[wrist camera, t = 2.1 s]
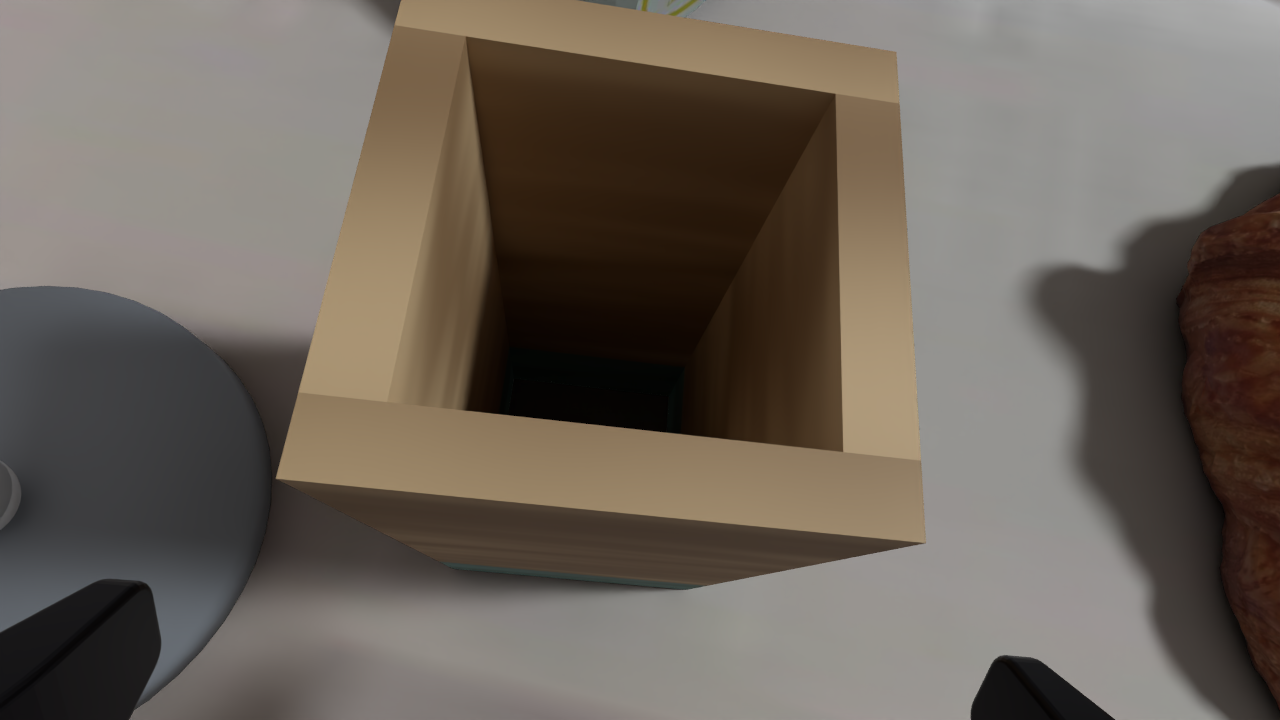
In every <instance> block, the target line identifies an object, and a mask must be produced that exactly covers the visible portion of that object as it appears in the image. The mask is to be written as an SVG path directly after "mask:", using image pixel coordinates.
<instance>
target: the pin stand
mask: <svg viewBox="0 0 1280 720" xmlns="http://www.w3.org/2000/svg"><path fill="white" fill-rule="evenodd" d="M271 481H272V472H271V462H270V452H269V446H268V442H267V438H266V434H265V430H264V426H263V423H262V420H261V418H260V415H259V413H258V411H257V408H256V406H255V404H254V401H253V399H252V398H251V396H250V394H249V393H248V391H247V390H246V388H245V386H244V385H243V383H242V382H241V380H240V378H239V377H238V376H237V375H236V374H235V373H234V372H233V370H232V369H231V368H230V367H229V366H228V365H227V363H226V362H225V361H224V360H223V359H222V358H221V357H219V356H218V355H217V354H216V353H215V352H214V351H212V350H211V349H210V348H209V347H208V346H207V345H205V344H204V343H203V342H202V341H200V340H199V339H198V338H197V337H195V336H194V335H193V334H192V333H190V332H189V331H188V330H187V329H185V328H184V327H183V326H181V325H180V324H178V323H176V322H175V321H173V320H172V319H170V318H168V317H167V316H165V315H164V314H162V313H160V312H158V311H156V310H154V309H152V308H150V307H147V306H145V305H143V304H141V303H138V302H136V301H133V300H130V299H127V298H123V297H120V296H117V295H113V294H110V293H106V292H100V291H94V290H88V289H83V288H75V287H56V286H38V287H20V288H10V289H4V290H0V632H1V631H3V630H5V629H7V628H9V627H11V626H13V625H14V624H16V623H18V622H20V621H22V620H24V619H26V618H28V617H29V616H31V615H33V614H35V613H37V612H39V611H41V610H43V609H44V608H46V607H48V606H50V605H52V604H54V603H56V602H58V601H59V600H61V599H63V598H65V597H67V596H69V595H71V594H73V593H74V592H76V591H78V590H80V589H82V588H84V587H86V586H88V585H89V584H91V583H94V582H96V581H98V580H102V579H109V578H110V579H121V580H133V581H142V582H144V583H147V584H148V585H149V587H150V588H151V590H152V593H153V597H154V603H155V608H156V613H157V618H158V624H159V629H160V634H161V652H160V656H159V659H158V662H157V665H156V667H155V669H154V671H153V673H152V675H151V677H150V679H149V681H148V683H147V685H146V687H145V689H144V691H143V693H142V695H141V697H140V699H139V701H138V703H137V705H136V707H135V709H137V708H138V707H139V706H141V705H142V704H144V703H145V702H147V701H148V700H150V699H151V698H152V697H153V696H154V695H155V694H157V693H158V692H159V691H160V690H161V689H163V688H164V687H165V686H166V685H167V684H168V683H170V682H171V681H172V680H173V679H174V678H176V677H177V676H178V675H179V674H180V673H181V672H182V671H183V670H184V668H185V667H186V666H187V665H188V664H189V663H190V662H191V661H192V660H193V659H194V658H195V657H196V656H197V655H198V654H199V653H200V652H201V651H202V650H203V648H204V647H205V646H206V645H207V643H208V642H209V641H210V639H211V638H212V637H213V635H214V634H215V633H216V632H217V630H218V629H219V628H220V626H221V625H222V624H223V622H224V621H225V619H226V618H227V616H228V615H229V613H230V611H231V610H232V608H233V606H234V605H235V603H236V601H237V600H238V598H239V596H240V595H241V593H242V591H243V589H244V587H245V585H246V583H247V580H248V578H249V576H250V574H251V572H252V569H253V567H254V565H255V563H256V560H257V557H258V554H259V551H260V547H261V544H262V541H263V538H264V535H265V531H266V526H267V520H268V515H269V509H270V503H271ZM135 709H134V710H135Z"/></svg>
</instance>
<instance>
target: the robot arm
mask: <svg viewBox="0 0 1280 720" xmlns="http://www.w3.org/2000/svg"><path fill="white" fill-rule="evenodd" d="M160 652H161V634H160V629H159V624H158V618H157V613H156V608H155V603H154V597H153V593H152V590H151V588H150V587H149V585H148V584H147V583H144V582H142V581H133V580H121V579H110V578H109V579H102V580H98V581H96V582H94V583H91V584H89V585H88V586H86V587H84V588H82V589H80V590H78V591H76V592H74V593H73V594H71V595H69V596H67V597H65V598H63V599H61V600H59V601H58V602H56V603H54V604H52V605H50V606H48V607H46V608H44V609H43V610H41V611H39V612H37V613H35V614H33V615H31V616H29V617H28V618H26V619H24V620H22V621H20V622H18V623H16V624H14V625H13V626H11V627H9V628H7V629H5V630H3V631H1V632H0V720H129V719H130V717H131V715H132V713H133V711H134V709H135V707H136V705H137V703H138V701H139V699H140V697H141V695H142V693H143V691H144V689H145V687H146V685H147V683H148V681H149V679H150V677H151V675H152V673H153V671H154V669H155V667H156V665H157V662H158V659H159V656H160ZM971 720H1115V719H1114V718H1112V717H1111V716H1110V715H1109V714H1107V713H1106V712H1105V711H1103V710H1102V709H1101V708H1100V707H1098V706H1097V705H1096V704H1095V703H1093V702H1092V701H1091V700H1090V699H1088V698H1087V697H1086V696H1084V695H1083V694H1082V693H1081V692H1079V691H1078V690H1077V689H1076V688H1074V687H1073V686H1072V685H1070V684H1069V683H1068V682H1067V681H1065V680H1064V679H1063V678H1062V677H1060V676H1059V675H1058V674H1057V673H1055V672H1054V671H1053V670H1051V669H1050V668H1049V667H1048V666H1046V665H1045V664H1044V663H1042V662H1041V661H1039V660H1037V659H1034V658H1031V657H1019V656H1008V655H1003V656H999V657H998V658H996V659H995V660H994V661H993V663H992V664H991V666H990V668H989V670H988V672H987V674H986V676H985V678H984V681H983V683H982V685H981V687H980V689H979V691H978V693H977V695H976V697H975V699H974V701H973V704H972V708H971Z"/></svg>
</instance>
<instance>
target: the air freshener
mask: <svg viewBox="0 0 1280 720" xmlns="http://www.w3.org/2000/svg"><path fill="white" fill-rule="evenodd" d="M578 1H585V2H591V3H597V4H603V5H609V6H615V7H622V8H628V9H634V10H640V11H646V12H653V13H659V14H665V15H671V16H677V17H683V18H685V17H686V16H688V15H689V14H690V13H691V12H693V11H694V10H695V9H697V8H698V7H699V6H700V5H701V4H702V3H703V2H705V1H706V0H578Z"/></svg>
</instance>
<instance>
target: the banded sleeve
mask: <svg viewBox="0 0 1280 720" xmlns="http://www.w3.org/2000/svg"><path fill="white" fill-rule="evenodd" d="M514 379H522V380H530V381H539V382H548V383H557V384H565V385H574V386H583V387H592V388H600V389H609V390H618V391H627V392H635V393H644V394H653V395H662V396H669V402H668V416H667V431H666V433H665V432H655V431H646V430H637V429H628V428H619V427H610V426H601V425H592V424H582V423H573V422H564V421H555V420H546V419H537V418H528V417H519V416H509V415H508V414H509V407H510V401H511V394H512V387H513V381H514ZM276 479H277V480H279V481H281V482H283V483H285V484H287V485H289V486H291V487H293V488H295V489H297V490H299V491H301V492H303V493H305V494H307V495H309V496H311V497H313V498H315V499H317V500H319V501H321V502H323V503H325V504H327V505H329V506H331V507H332V508H334V509H336V510H338V511H340V512H342V513H344V514H346V515H348V516H350V517H352V518H354V519H356V520H358V521H360V522H362V523H364V524H366V525H368V526H370V527H372V528H374V529H376V530H378V531H380V532H382V533H384V534H386V535H388V536H389V537H391V538H393V539H395V540H397V541H399V542H401V543H403V544H405V545H407V546H409V547H411V548H413V549H415V550H417V551H419V552H421V553H423V554H425V555H427V556H429V557H431V558H433V559H435V560H437V561H439V562H441V563H443V564H445V565H447V566H448V567H450V568H452V569H461V570H473V571H484V572H495V573H506V574H517V575H528V576H539V577H550V578H561V579H572V580H583V581H595V582H606V583H617V584H628V585H639V586H650V587H661V588H672V589H683V590H687V589H693V588H698V587H703V586H708V585H713V584H718V583H723V582H728V581H734V580H739V579H744V578H749V577H754V576H759V575H764V574H770V573H775V572H780V571H785V570H790V569H795V568H800V567H805V566H811V565H816V564H821V563H826V562H831V561H836V560H841V559H847V558H852V557H857V556H862V555H867V554H872V553H877V552H882V551H888V550H893V549H898V548H903V547H908V546H913V545H918V544H924V543H926V536H925V519H924V503H923V486H922V470H921V453H920V437H919V420H918V404H917V387H916V370H915V354H914V337H913V321H912V304H911V288H910V271H909V254H908V238H907V221H906V205H905V188H904V172H903V155H902V138H901V122H900V105H899V89H898V72H897V56H896V52H893V51H887V50H881V49H875V48H869V47H863V46H856V45H850V44H844V43H838V42H832V41H826V40H819V39H813V38H807V37H801V36H795V35H788V34H782V33H776V32H770V31H764V30H758V29H751V28H745V27H739V26H733V25H727V24H720V23H714V22H708V21H702V20H696V19H690V18H683V17H677V16H671V15H665V14H659V13H653V12H646V11H640V10H634V9H628V8H622V7H615V6H609V5H603V4H597V3H591V2H585V1H578V0H401V2H400V6H399V10H398V14H397V17H396V21H395V25H394V29H393V33H392V37H391V40H390V44H389V48H388V52H387V56H386V59H385V63H384V67H383V71H382V75H381V79H380V82H379V86H378V90H377V94H376V98H375V101H374V105H373V109H372V113H371V117H370V121H369V124H368V128H367V132H366V136H365V140H364V143H363V147H362V151H361V155H360V159H359V163H358V166H357V170H356V174H355V178H354V182H353V185H352V189H351V193H350V197H349V201H348V205H347V208H346V212H345V216H344V220H343V224H342V227H341V231H340V235H339V239H338V243H337V247H336V250H335V254H334V258H333V262H332V266H331V269H330V273H329V277H328V281H327V285H326V289H325V292H324V296H323V300H322V304H321V308H320V311H319V315H318V319H317V323H316V327H315V331H314V334H313V338H312V342H311V346H310V350H309V353H308V357H307V361H306V365H305V369H304V373H303V376H302V380H301V384H300V388H299V392H298V395H297V399H296V403H295V407H294V411H293V415H292V418H291V422H290V426H289V430H288V434H287V437H286V441H285V445H284V449H283V453H282V457H281V460H280V464H279V468H278V472H277V476H276Z"/></svg>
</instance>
